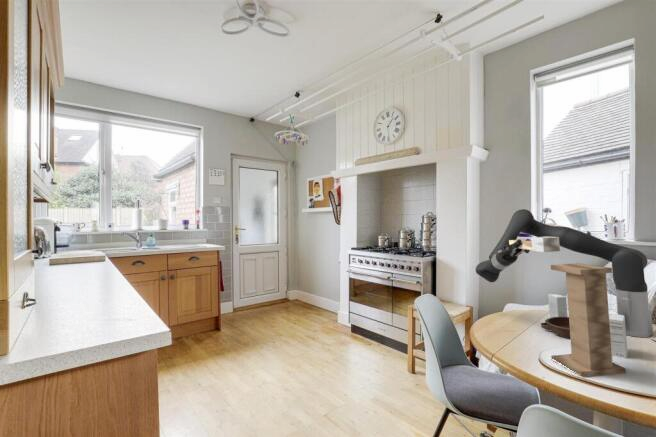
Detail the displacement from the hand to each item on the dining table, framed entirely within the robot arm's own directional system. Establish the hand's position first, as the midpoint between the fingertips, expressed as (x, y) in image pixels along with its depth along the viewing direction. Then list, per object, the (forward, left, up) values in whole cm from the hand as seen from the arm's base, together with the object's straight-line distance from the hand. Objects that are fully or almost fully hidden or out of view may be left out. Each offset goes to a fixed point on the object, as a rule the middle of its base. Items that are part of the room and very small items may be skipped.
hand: (524, 241), depth 129 cm
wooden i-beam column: (0, +25, -39) cm, 46 cm away
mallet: (0, +3, -3) cm, 4 cm away
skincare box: (-24, -16, -39) cm, 48 cm away
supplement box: (-17, +17, -39) cm, 46 cm away
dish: (-18, -1, -39) cm, 43 cm away
